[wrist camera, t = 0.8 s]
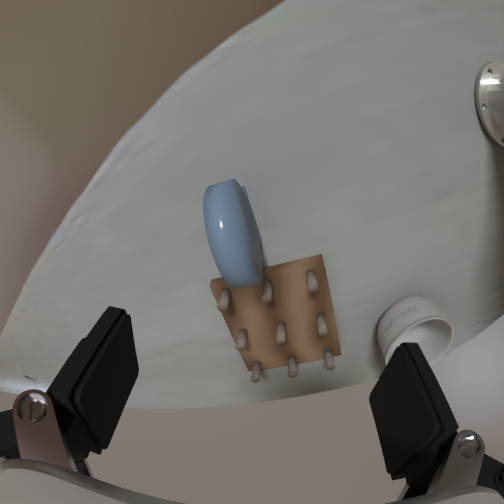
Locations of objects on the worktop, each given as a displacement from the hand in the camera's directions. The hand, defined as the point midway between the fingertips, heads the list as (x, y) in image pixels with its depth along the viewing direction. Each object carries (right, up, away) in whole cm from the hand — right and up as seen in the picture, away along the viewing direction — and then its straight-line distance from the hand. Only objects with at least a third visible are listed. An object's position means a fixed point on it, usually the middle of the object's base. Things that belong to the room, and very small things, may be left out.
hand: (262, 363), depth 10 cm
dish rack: (+4, -6, +33) cm, 33 cm away
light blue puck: (-1, +8, +27) cm, 28 cm away
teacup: (+22, -7, +32) cm, 39 cm away
